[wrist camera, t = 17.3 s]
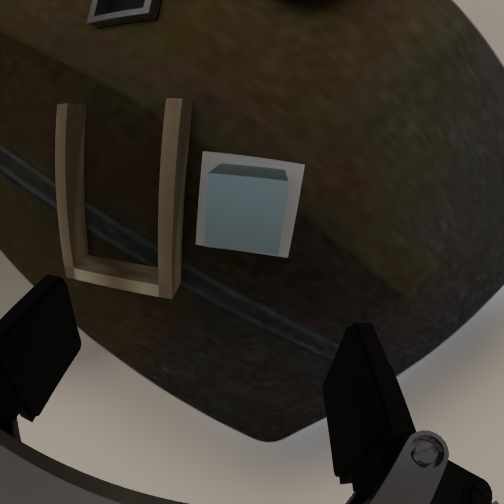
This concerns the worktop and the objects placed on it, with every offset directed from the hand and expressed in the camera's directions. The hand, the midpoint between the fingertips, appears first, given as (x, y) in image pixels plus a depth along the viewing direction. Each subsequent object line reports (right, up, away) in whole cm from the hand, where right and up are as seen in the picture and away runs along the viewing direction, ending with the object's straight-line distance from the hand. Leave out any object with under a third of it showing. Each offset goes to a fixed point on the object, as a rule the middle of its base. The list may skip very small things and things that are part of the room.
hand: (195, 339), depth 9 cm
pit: (-9, +25, +8) cm, 28 cm away
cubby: (-9, +9, +15) cm, 20 cm away
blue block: (+2, +7, +15) cm, 16 cm away
